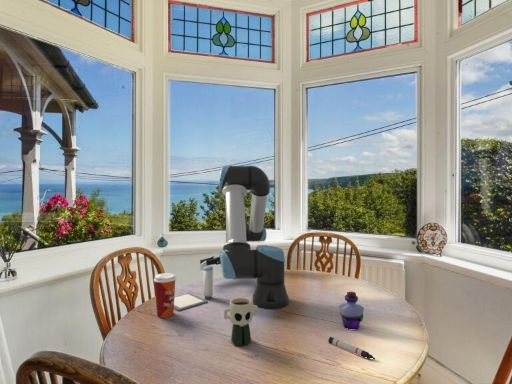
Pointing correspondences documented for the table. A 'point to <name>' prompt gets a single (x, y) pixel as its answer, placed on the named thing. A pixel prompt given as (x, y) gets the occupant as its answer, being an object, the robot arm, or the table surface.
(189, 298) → the writing board
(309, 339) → the table surface
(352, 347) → the marker
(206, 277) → the thick grey marker
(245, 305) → the character mug
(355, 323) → the potion bottle
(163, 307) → the coffee cup
